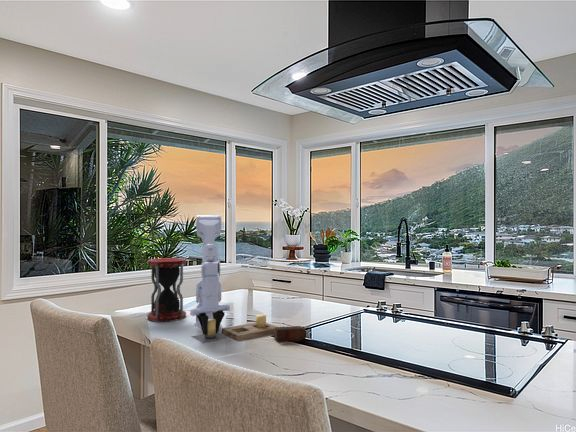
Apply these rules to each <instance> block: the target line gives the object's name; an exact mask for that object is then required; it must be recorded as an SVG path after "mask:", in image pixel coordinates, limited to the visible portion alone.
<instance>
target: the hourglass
mask: <svg viewBox="0 0 576 432" xmlns="http://www.w3.org/2000/svg"><path fill="white" fill-rule="evenodd" d="M185 264H187V259H186V258H183V257H182V258H180V257H163V258H161V257H160V258H149V259H147V265H149V266H151V282H152V284H153V286H154V289H153V292H152V293H151V297H150V298H151V299H150V305H151V306H150V307H151V309H150V310H151V311H150V312H149V313H147V315H146V319H147V320H148V321H152V322H156V323H157V322H162V323H163V322H172V321H173V322H174V321H179V320H180V321H181V320H182V319H184V318H186V317H187V311H185V310H184V297H183V294H182V293H181V285H182V284H183V282H184V265H185ZM178 279H179V282H178V284H177V281H178ZM162 287H163V289H162ZM171 287H172V290H171ZM156 293H157V294H156ZM155 295H156V297H155ZM178 296H179V297H178Z"/></svg>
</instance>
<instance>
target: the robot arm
mask: <svg viewBox="0 0 576 432" xmlns="http://www.w3.org/2000/svg"><path fill="white" fill-rule="evenodd" d="M195 220H196V222H195V223H196V227H195V228H196V235H197V236H196V237H199V238H201V241H202V250H201V251H202V252H201V254H202V255H201V256H202V257H201V258H202V260H201V261H202V262H201V266H200V268H201V269H200V270H201V271H200V274H201V279H200V280H199V281H198V282H197V283H196V288H195V302H196V303H197V305H196V307H195V308H192V309H190V310H189V314H190V316H192V317H195V322H194V323H193V325H194V326H196V327H199V328H200V329H201V332H202V334H204V335H207V323H208V319H216V333H219V331H220V327H223V324H221V323H222V322H223V319H224V317H225V316H226V315H225V312H229V311H231V305H229V304H219V303H220V302H221V301H222V284H221V282H220V277H221V262H220V259H219V248H218V247H217V245H215V243H216V242H215V240H216V238H218V237H220V234H221V232H222V231H221V230H222V216H221V215H220V214H219V215H217V214H216V215H215V214H213V215H211V214H210V215H199V214H197V215H196V219H195Z"/></svg>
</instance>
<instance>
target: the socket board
mask: <svg viewBox="0 0 576 432" xmlns="http://www.w3.org/2000/svg"><path fill="white" fill-rule="evenodd" d="M276 327H278V326H276V325H274V324H271V323H269V322H266V328H260V329H258V328H256V321H255V322H251V323H244V324H238V325H232V326H228V327H222V328H221V334H222V335H224V336H226V337H228V338H231V339H233V340H235V341H238V342H239V341H243V340H249V339H254V338H258V337H264V336H269V335H275V331H274V330H275V328H276Z"/></svg>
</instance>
